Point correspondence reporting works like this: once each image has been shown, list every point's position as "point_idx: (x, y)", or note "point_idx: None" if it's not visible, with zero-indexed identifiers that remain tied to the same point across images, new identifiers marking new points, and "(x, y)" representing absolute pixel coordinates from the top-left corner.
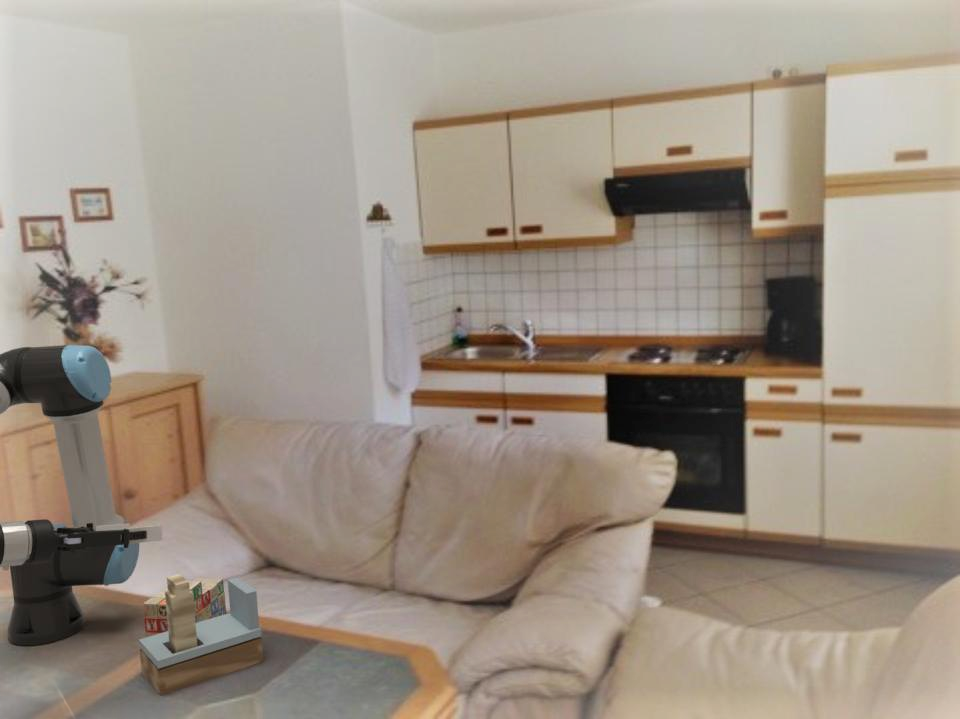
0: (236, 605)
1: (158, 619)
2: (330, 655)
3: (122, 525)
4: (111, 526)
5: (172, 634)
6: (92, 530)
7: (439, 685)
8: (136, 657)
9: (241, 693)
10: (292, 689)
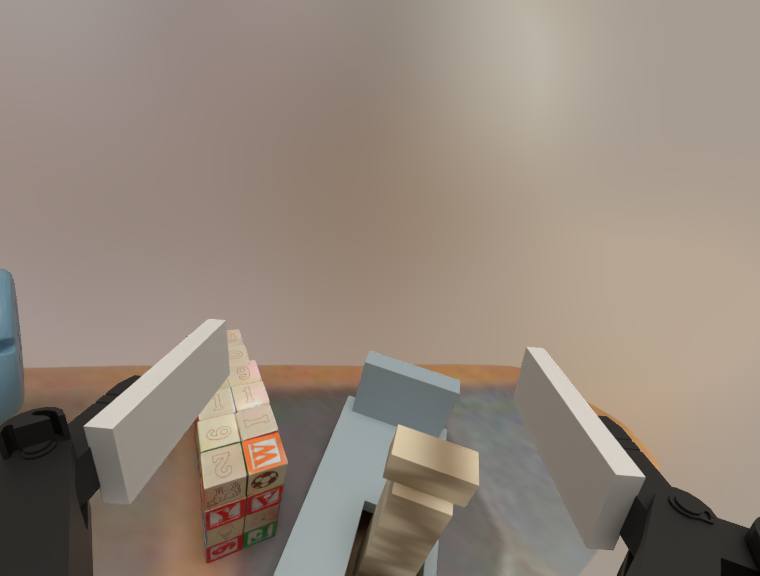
0: (392, 403)
1: (248, 498)
2: (469, 411)
3: (209, 341)
4: (179, 372)
5: (400, 563)
6: (78, 459)
7: (611, 417)
8: (166, 572)
9: (492, 559)
10: (529, 504)
